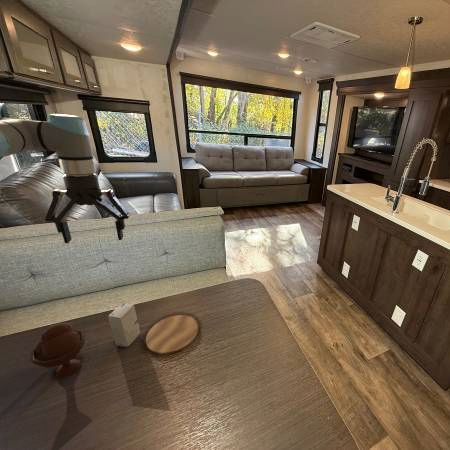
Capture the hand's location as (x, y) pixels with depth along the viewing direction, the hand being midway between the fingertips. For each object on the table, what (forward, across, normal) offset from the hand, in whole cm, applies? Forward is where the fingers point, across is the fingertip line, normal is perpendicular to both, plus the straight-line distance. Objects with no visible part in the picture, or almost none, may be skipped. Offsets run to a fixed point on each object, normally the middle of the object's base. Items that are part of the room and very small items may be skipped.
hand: (95, 239), depth 79 cm
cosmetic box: (+31, -7, +14) cm, 34 cm away
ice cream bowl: (+31, +6, +20) cm, 38 cm away
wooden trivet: (+30, -21, +16) cm, 40 cm away
